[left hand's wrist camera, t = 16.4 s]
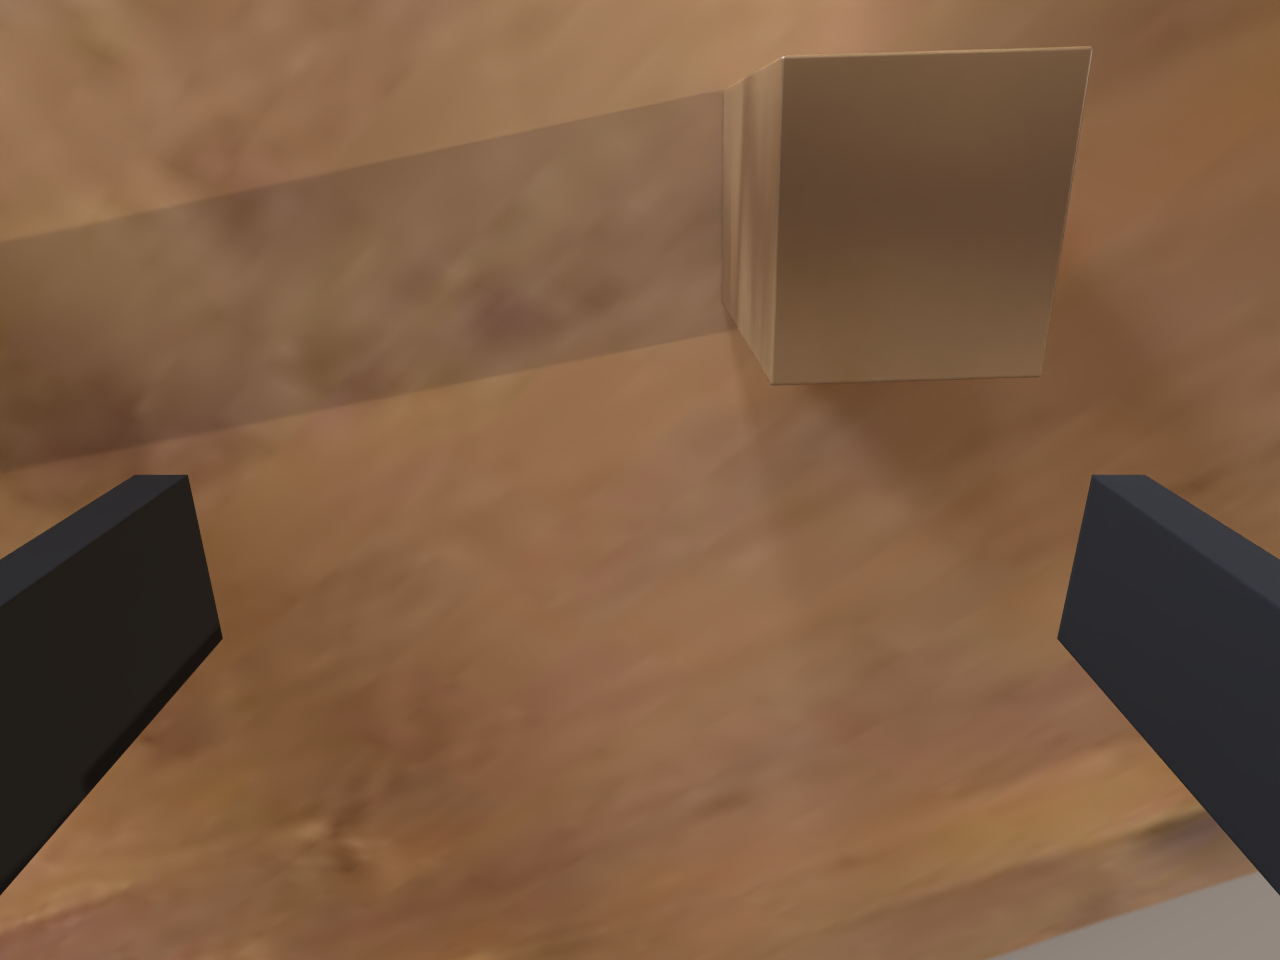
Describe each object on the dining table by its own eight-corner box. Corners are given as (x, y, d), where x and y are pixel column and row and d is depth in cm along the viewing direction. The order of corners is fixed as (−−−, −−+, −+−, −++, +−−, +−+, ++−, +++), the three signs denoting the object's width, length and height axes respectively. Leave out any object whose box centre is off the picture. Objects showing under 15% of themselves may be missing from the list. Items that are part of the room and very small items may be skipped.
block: (900, 298, 28) (1042, 377, 18) (721, 303, 28) (770, 386, 18) (919, 82, 25) (1095, 45, 16) (723, 88, 25) (780, 55, 16)
